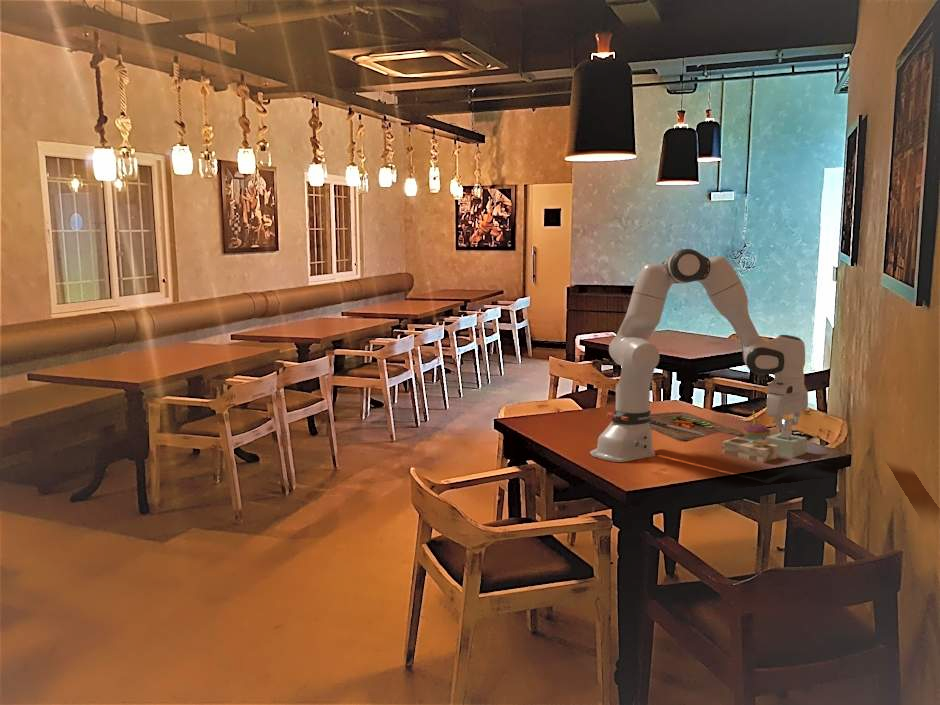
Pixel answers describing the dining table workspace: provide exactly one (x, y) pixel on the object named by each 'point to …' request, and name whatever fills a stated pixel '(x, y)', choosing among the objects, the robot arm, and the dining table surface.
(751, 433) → the cupcake
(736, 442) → the socket block
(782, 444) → the bit rack
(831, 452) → the dining table surface
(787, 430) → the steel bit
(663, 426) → the chopping board
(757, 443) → the drift key
